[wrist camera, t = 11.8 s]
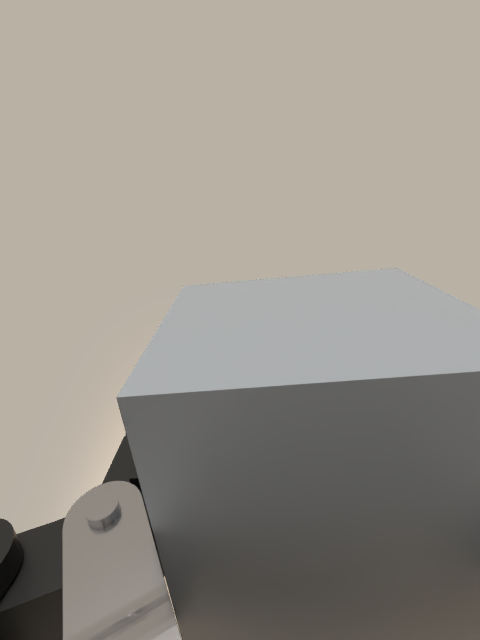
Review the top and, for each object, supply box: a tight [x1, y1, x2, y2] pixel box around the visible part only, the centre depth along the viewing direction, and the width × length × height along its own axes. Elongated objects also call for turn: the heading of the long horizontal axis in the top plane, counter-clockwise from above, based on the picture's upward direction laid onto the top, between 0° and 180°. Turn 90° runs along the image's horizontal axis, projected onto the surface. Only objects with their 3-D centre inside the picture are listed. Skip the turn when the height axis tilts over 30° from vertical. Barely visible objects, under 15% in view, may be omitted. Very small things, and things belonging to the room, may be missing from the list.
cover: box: [117, 268, 480, 640], centre depth 8 cm, size 6×5×12 cm
